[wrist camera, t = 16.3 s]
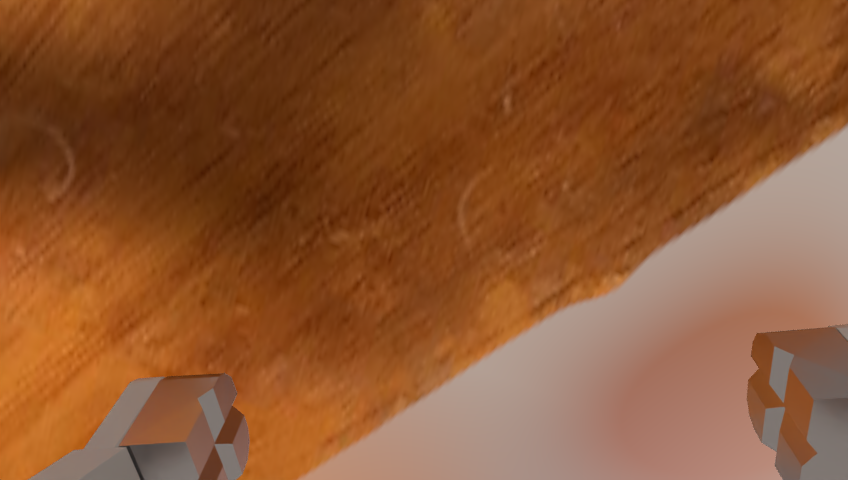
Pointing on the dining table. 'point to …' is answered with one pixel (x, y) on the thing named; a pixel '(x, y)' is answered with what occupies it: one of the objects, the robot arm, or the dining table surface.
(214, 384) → the robot arm
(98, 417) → the dining table surface
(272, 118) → the dining table surface
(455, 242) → the dining table surface
